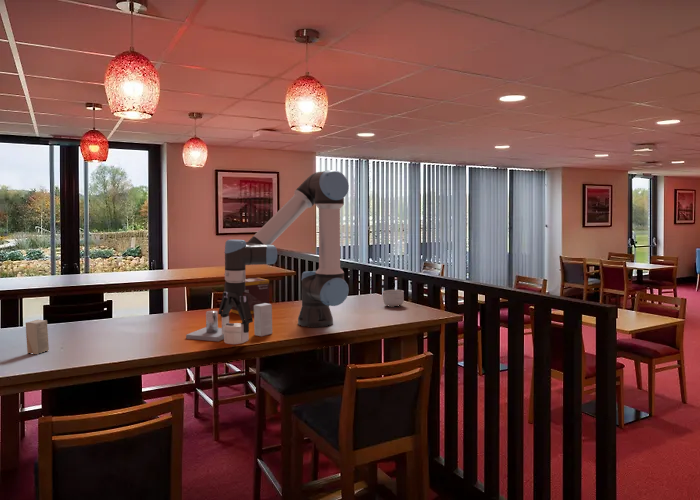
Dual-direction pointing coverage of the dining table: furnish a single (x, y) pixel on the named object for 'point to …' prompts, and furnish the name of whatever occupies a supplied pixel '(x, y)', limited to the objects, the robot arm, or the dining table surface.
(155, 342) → the dining table surface
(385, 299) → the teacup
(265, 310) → the skincare box
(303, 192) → the robot arm
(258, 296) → the supplement box
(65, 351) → the dining table surface
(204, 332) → the board
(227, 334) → the white lidded jar
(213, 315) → the post
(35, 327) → the box
